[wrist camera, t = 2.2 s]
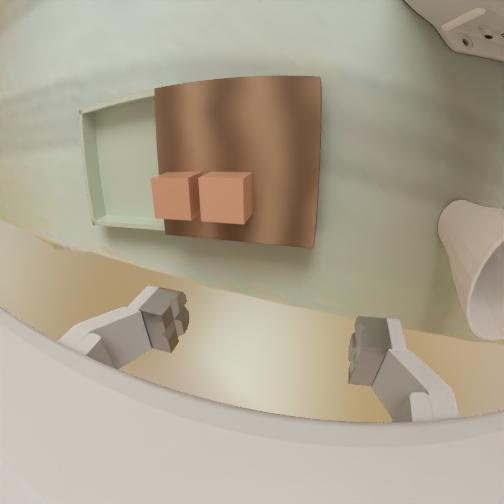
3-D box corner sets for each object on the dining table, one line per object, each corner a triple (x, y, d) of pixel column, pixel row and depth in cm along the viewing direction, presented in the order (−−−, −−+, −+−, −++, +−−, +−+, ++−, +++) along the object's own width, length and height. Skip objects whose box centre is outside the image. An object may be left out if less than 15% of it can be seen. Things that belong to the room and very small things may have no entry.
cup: (501, 191, 22) (571, 237, 10) (477, 271, 26) (524, 342, 15) (430, 169, 24) (497, 207, 12) (409, 259, 28) (445, 339, 17)
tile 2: (252, 172, 25) (242, 178, 22) (252, 213, 27) (243, 224, 24) (211, 171, 26) (198, 177, 23) (213, 211, 28) (201, 221, 25)
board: (321, 83, 23) (320, 76, 20) (315, 233, 30) (313, 248, 27) (173, 90, 27) (154, 88, 23) (181, 222, 34) (165, 234, 30)
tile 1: (201, 171, 26) (187, 177, 24) (204, 210, 28) (191, 220, 25) (166, 172, 27) (150, 178, 24) (170, 209, 29) (155, 218, 26)
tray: (173, 90, 27) (159, 89, 24) (181, 222, 34) (169, 231, 31) (94, 109, 30) (78, 110, 27) (106, 217, 37) (92, 225, 34)
